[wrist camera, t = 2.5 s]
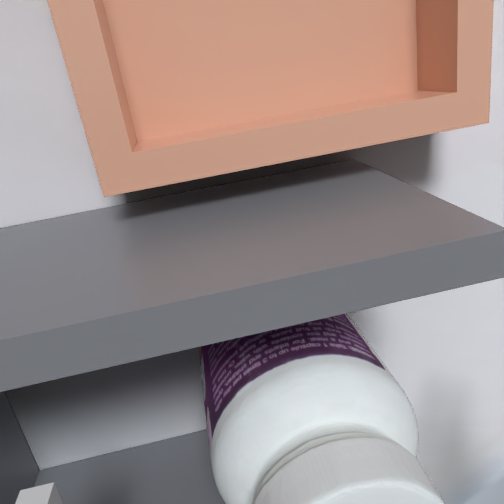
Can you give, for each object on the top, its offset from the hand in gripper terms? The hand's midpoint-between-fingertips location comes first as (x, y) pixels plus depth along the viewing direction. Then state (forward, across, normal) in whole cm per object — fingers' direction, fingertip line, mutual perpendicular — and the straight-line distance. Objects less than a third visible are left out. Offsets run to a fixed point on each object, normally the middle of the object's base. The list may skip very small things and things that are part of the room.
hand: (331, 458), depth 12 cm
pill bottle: (+7, 0, 0) cm, 7 cm away
